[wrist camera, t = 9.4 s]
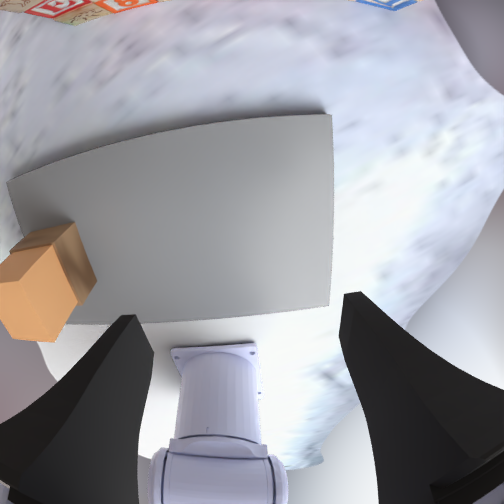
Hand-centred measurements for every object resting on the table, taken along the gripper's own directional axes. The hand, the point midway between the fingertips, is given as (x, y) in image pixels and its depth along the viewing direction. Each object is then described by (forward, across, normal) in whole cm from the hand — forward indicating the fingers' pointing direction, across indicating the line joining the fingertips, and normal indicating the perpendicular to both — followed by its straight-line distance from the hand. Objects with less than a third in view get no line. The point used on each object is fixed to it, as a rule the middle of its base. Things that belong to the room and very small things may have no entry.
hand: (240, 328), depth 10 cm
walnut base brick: (+9, +14, +1) cm, 17 cm away
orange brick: (+6, +14, +1) cm, 15 cm away
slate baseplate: (+10, +6, +1) cm, 12 cm away
